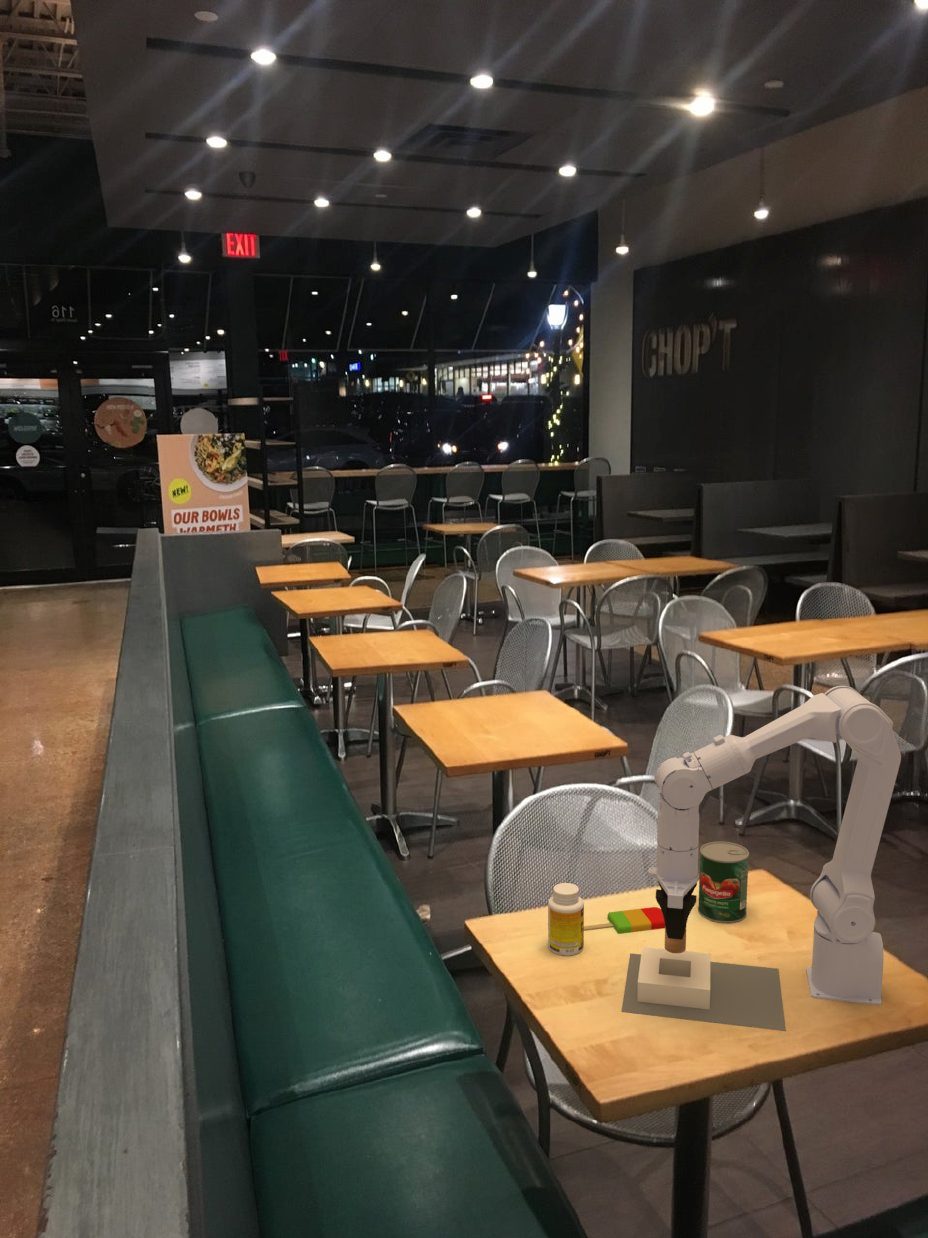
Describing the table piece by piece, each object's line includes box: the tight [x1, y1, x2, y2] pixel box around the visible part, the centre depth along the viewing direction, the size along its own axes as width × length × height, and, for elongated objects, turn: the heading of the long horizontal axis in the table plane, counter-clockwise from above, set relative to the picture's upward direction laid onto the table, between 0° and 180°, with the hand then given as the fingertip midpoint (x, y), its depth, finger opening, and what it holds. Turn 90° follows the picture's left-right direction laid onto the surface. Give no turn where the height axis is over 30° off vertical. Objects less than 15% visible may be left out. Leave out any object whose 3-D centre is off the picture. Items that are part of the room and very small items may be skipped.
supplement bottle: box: [547, 882, 585, 957], centre depth 158 cm, size 6×6×10 cm
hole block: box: [637, 946, 711, 1010], centre depth 147 cm, size 10×10×3 cm
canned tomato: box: [697, 841, 750, 924], centre depth 168 cm, size 8×8×11 cm
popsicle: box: [584, 906, 665, 935], centre depth 166 cm, size 6×15×2 cm, turn 102°
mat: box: [621, 953, 787, 1032], centre depth 146 cm, size 22×16×1 cm
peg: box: [664, 893, 687, 953], centre depth 145 cm, size 3×3×9 cm
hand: (675, 931), depth 146 cm, fingers closed on peg, 3 cm apart
